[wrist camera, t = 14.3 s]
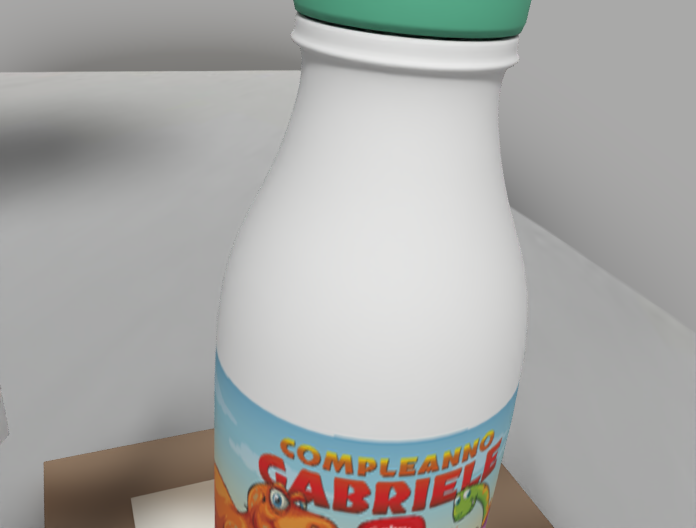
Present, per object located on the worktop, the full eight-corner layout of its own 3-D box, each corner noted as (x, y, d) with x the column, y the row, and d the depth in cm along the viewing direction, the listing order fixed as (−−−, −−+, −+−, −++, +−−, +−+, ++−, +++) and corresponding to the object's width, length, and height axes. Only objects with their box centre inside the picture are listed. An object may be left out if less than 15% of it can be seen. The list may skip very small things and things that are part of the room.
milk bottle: (190, 553, 23) (169, -95, 14) (387, 496, 26) (474, -67, 17) (257, 792, 17) (296, -78, 8) (502, 681, 20) (734, -39, 11)
